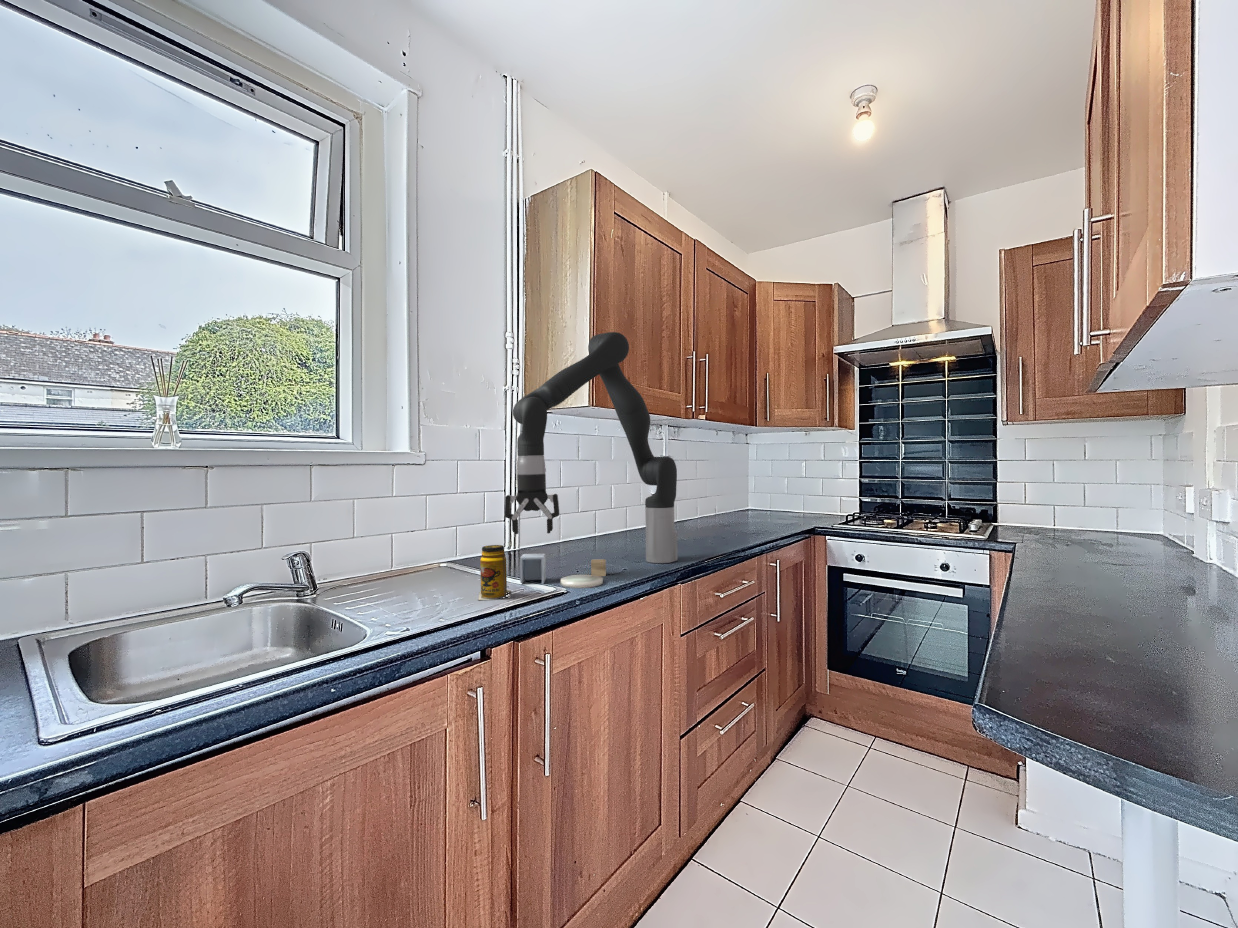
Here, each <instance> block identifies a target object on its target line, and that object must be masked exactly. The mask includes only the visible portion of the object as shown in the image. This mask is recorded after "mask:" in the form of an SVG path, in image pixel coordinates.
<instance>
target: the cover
mask: <svg viewBox="0 0 1238 928" xmlns="http://www.w3.org/2000/svg"><path fill="white" fill-rule="evenodd" d="M546 563H547V562H546V553H522V555H521V556H520V558H519V565H520V566H519V567H520V568H519V569H520V570H519V572H520V573H519V574H520V576H519V578H520V583H523V582H524V583H525V582H526V581H540V580H541V584H542V583H545V581H546V579H547V578H546V577H547V576H546V574H547V573H546V571H547V570H546V567H547V566H546ZM520 583H519V584H520ZM524 583H523V584H524Z"/></svg>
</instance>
